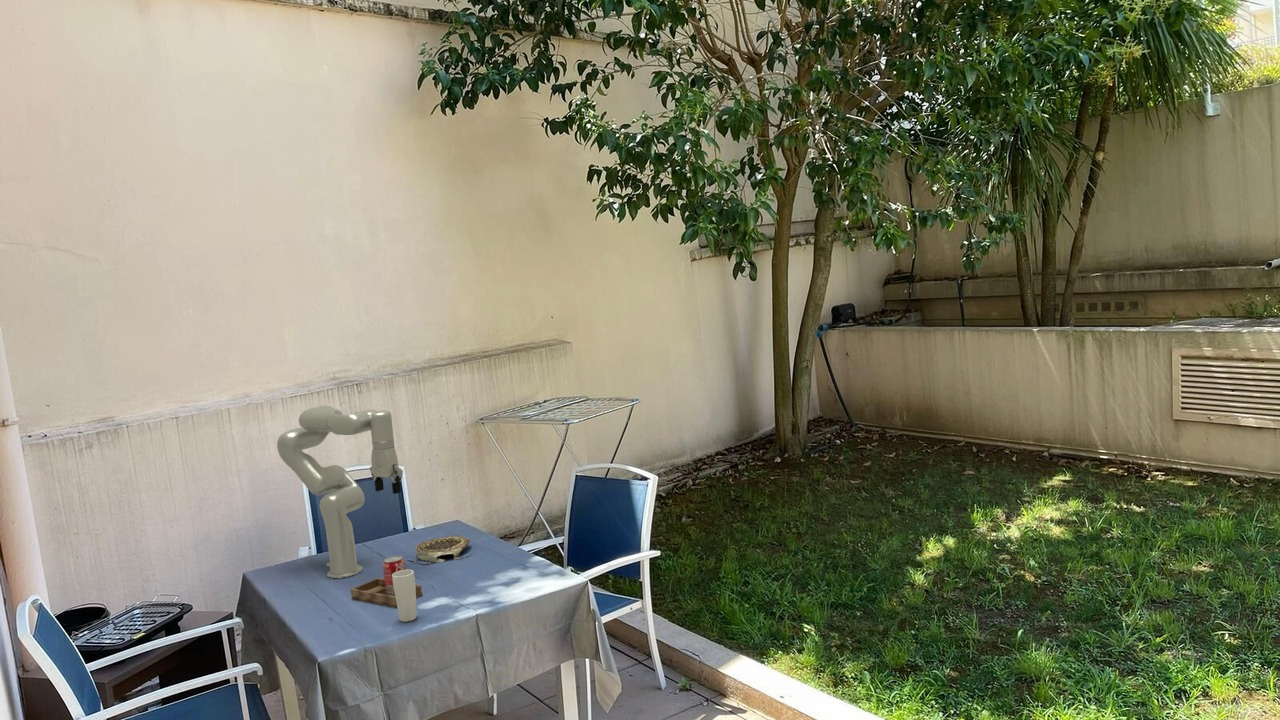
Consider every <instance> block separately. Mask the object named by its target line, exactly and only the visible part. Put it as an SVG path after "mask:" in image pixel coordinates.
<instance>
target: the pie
mask: <svg viewBox="0 0 1280 720" xmlns="http://www.w3.org/2000/svg"><path fill="white" fill-rule="evenodd" d="M470 542H471V539H470V538H468V537H464V536H452V535H451V536H445V537H439V538H431V539H430V540H427V541H426V540H425V541H423V542H421V543H419V544H417V545H416V546H415V553H416V555H417V556H418V558H420V559H421V560H420V559H419V560H420V561H423V560H425V561H424V562H429V563H427V565H431V564H434V562H435V563H437V564H438V562H440V563H444V562H446V561H445V560H446V559H442V558H438V557H440V556H445V555H453V560H456V559H458V560H459V559H460V560H462V558H463V557H459V556H460V555H461V553H462V552H463V550H464V549H465V548H467V546H468V545H469V544H470ZM461 551H462V552H461ZM460 552H461V553H460ZM459 554H460V555H459ZM458 555H459V556H458ZM456 556H457V557H456ZM467 557H469V555H468V556H467V555H466V558H467ZM418 558H417V559H418ZM409 560H410V559H409ZM410 561H411V562H412V560H410ZM410 561H409V562H410ZM443 561H444V562H443ZM414 562H415V563H417V562H416V560H414ZM419 564H421V565H422V563H421V562H419Z"/></svg>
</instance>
